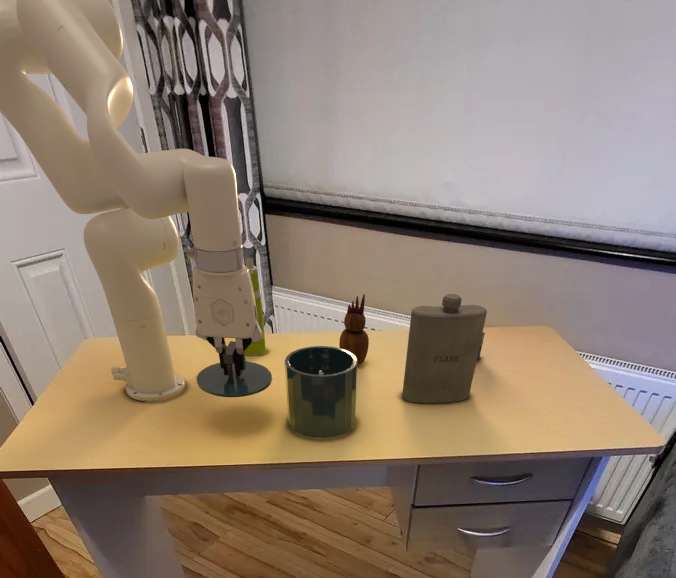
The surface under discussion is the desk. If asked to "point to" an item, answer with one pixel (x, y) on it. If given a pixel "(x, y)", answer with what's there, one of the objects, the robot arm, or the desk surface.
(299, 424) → the pot
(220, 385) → the lid
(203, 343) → the desk surface
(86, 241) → the robot arm
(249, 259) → the vape
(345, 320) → the wooden figurine
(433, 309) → the flask
